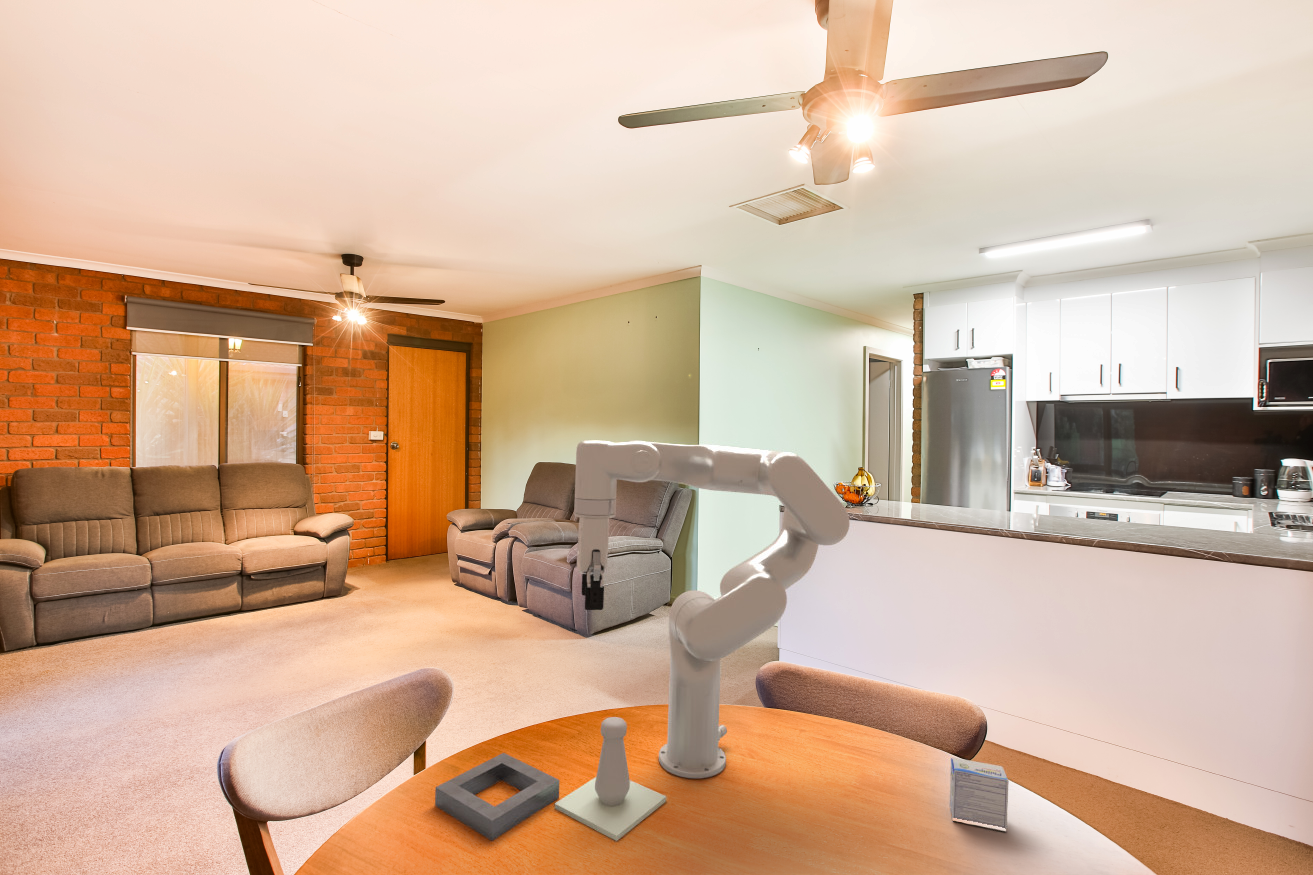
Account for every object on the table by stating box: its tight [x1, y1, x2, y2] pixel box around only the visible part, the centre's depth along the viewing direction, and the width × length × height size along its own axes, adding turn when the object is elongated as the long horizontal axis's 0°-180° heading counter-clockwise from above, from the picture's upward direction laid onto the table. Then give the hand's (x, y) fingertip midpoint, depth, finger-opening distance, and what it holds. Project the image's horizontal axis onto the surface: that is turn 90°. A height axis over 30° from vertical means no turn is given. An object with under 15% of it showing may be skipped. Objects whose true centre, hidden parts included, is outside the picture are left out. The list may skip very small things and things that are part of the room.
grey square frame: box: [434, 752, 560, 841], centre depth 102 cm, size 14×14×3 cm
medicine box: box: [949, 757, 1010, 830], centre depth 101 cm, size 8×4×9 cm, turn 71°
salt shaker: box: [595, 716, 631, 807], centre depth 102 cm, size 6×6×13 cm
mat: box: [554, 776, 667, 842], centre depth 102 cm, size 13×13×1 cm
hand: (591, 601), depth 113 cm, fingers open, 9 cm apart
